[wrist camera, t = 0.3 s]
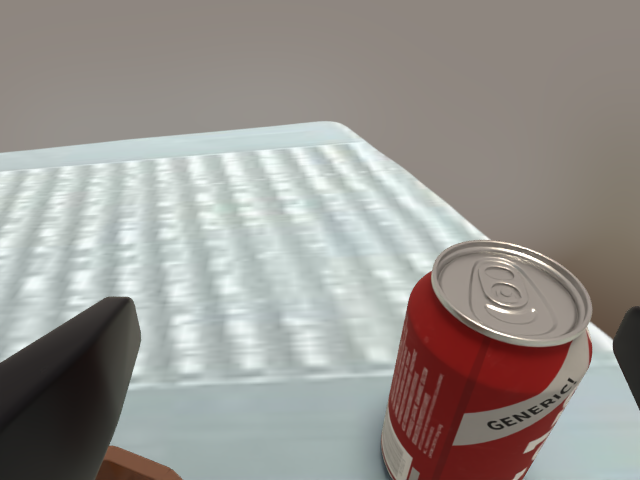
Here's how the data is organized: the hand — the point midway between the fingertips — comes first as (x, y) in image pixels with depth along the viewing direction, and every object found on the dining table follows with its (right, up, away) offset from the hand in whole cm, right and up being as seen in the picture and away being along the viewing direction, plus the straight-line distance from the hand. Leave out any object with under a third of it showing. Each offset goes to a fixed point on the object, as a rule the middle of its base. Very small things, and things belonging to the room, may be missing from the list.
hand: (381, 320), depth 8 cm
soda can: (+5, -10, +15) cm, 19 cm away
